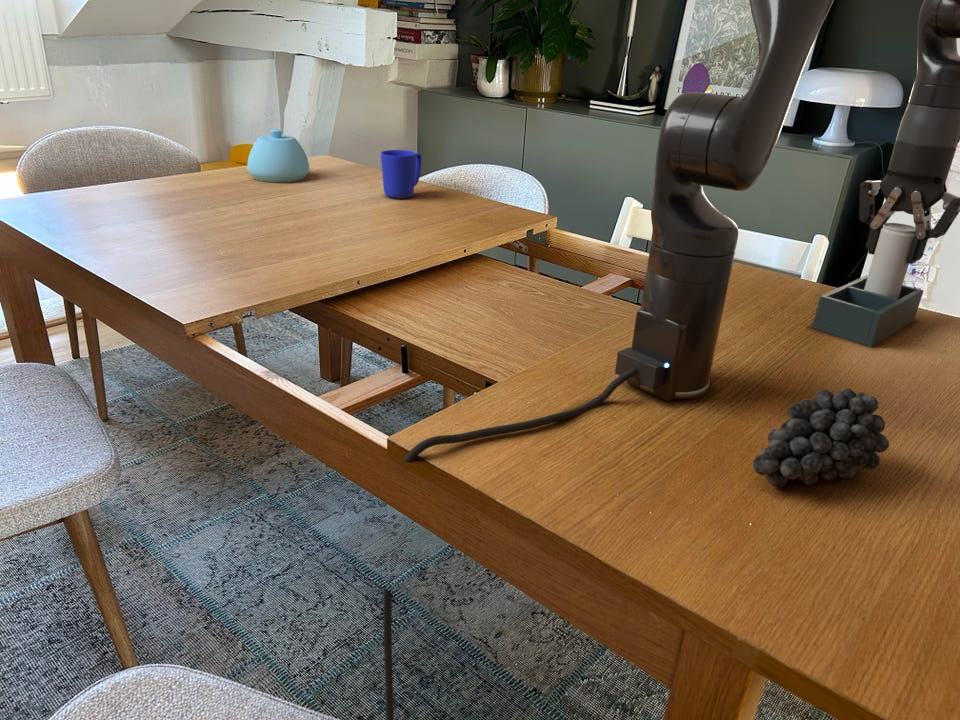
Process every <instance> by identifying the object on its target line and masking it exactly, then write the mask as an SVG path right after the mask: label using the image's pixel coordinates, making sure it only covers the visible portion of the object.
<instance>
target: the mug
mask: <svg viewBox="0 0 960 720" xmlns="http://www.w3.org/2000/svg"><path fill="white" fill-rule="evenodd" d="M380 160H381V161H380V162H381V163H380V164H381V173H382V184H383V185H382V186H383V193H384V195H385V196H386V197H387V198H390V199H396V200H401V199H409V198H411V197H413V195H414V190H415V187H416V186H417V185H418V183H419V180H420V177H421V170H422V169H421V168H422V153H420V152H414V151H411V150H404V149H391V150H390V149H389V150H383V151H381V152H380Z"/></svg>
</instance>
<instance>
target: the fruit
mask: <svg viewBox="0 0 960 720" xmlns="http://www.w3.org/2000/svg"><path fill="white" fill-rule="evenodd" d="M878 409H879V400H878V399H877V398H876V397H875V396H873V395H871V394H868V393H865V392H863V391H853V389H852V388H849V387H848V388H840V389H839V390H838V391H837V392H836V393H835V394H833V392H831V391H830V390H828V389H820V390H818V391H817V392H816V393H815V395H814V398H813V400H811V399H809V398H808V399H807V398H806V399H803V400H801V401H800V402H795V403H792V404H790V405H789V406H788V408H787V411H786V415H787V417H788V418H789V419H788V420H786V421H784V422H782V423H781V425H780V427H779V428H773V429H772V430H770V432H769V433H768V435H767V441H768V445H767V446H766V447H765V448H763V449H762V450H761V451H760V453H759V455H757V456H756V457H755V458H754V459H753V461H752V469H753V470H754V472H755V473H757V474H758V475H760V476H766V481H767V483H769V484H770V485H771V486H773V487H776V488H782V487H784V486H786V485H787V483H788V480H789V479H790V480H796V479H797V480H799V481H801V482H802V483H803V484H804V485H806V486H813V485H815V484H816V483H817V482H818V481H819V476H820V477H821V478H822V480H826V481H831V480H834V479H836V477H837V476H838V477H839V478H842V479H851V478H853V476H855V474H856V473H857V468H862V469H865V470H869V471H872V470H875V469H877V468H878V467H879V465H880V464H881V461H880V460H881V458H880V456H879V454H880V453H881V454H882V453H884V452H886V451H887V450H888V448H889V446H890V440H889V439H888V438H887V436H886V435H885V434H882V433H883V431H885V428H886V421H885V420H884V418H883V417H882V416H880V415H878V414H873V413H875V412H876V411H877V410H878ZM878 453H879V454H878Z"/></svg>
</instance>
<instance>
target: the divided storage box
mask: <svg viewBox="0 0 960 720" xmlns="http://www.w3.org/2000/svg"><path fill="white" fill-rule="evenodd" d="M867 278H868V274H866V275H864V276H862V277H859V278H857V279H855V280H852V281H850V282H848V283H846V284H844V285H841V286H839V287H837V288H835V289H833V290H831V291H828V292H826V293H824V294H822V295H820V296H819V299H818V302H817V307H816V310H815V314H814V317H813V322H812V326H811V329H814V330H818V331H821V332H823V333H826V334H830V335H832V336H836V337H839V338H842V339H845V340H848V341H850V342H851V341H852V342H854V343H857V344H861V345H864V346H867V347H869V348H872V347H874V346H875V345H877V344H879V343H880V342H882V341H883V340H885V339H887V338H888V337H890V336H892V335H893V334H895V333H896V332H898V331H900V330H901V329H903V328H905V327H906V326H908V325H910V324H911V323H913V322H914V321H915V320H916V316H917V313H918V310H919V306H920V304H921V300H922V297H923V294H924V290H923V289H920V288H915V287H913V286H908V285H904V284H902V288H901V291H900V294H899V297H898V299H895V298H891V297H888V296H884V295H880V294H877V293H873V292H869V291H866V290H864V288H865V285H866V281H867Z"/></svg>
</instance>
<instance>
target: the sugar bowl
mask: <svg viewBox="0 0 960 720" xmlns="http://www.w3.org/2000/svg"><path fill="white" fill-rule="evenodd" d="M283 132H284V130H283V129H279V128H273V129H269V133H270V134H266V135H261V136H258V137H257V138H256V140H255V142H254V144H253V146H251V147H252V148H251V149H250V152H249V155H248V158H247V165H246V166H247V171H248V173H249V174H250V175H251V176H252V177H253V178H254V179H255V180H257V181H261V182H265V183H292V182H299V181H301V180H304V179H305V178H306V177H307V175H308V174H309V172H310V169H311V168H310V163H309V159H308V156H307V153H306V152H305V150H304V148H303V146H302V145H301V144H300V142H299V141H298V139H297V138H296V137H295V136H291V135H285V134H283Z"/></svg>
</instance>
